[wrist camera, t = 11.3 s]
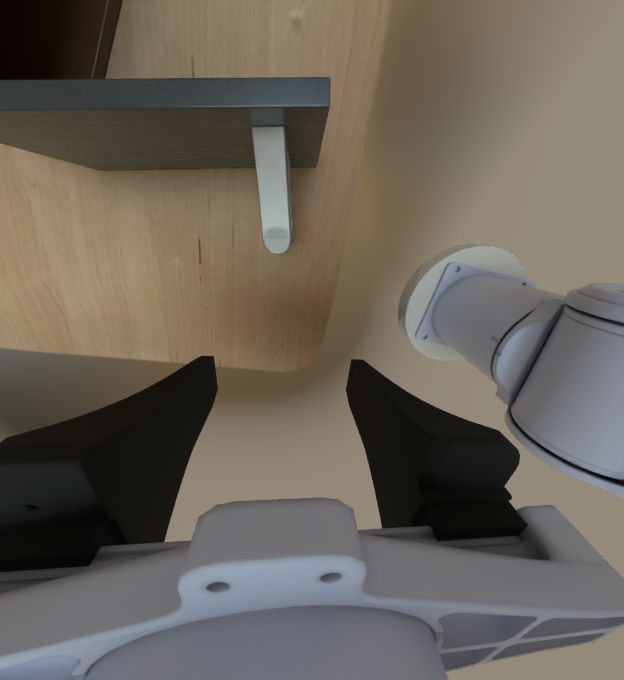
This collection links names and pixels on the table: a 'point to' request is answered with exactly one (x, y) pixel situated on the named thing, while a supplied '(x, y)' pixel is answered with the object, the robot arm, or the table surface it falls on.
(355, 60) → the table surface
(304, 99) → the door
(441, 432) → the robot arm
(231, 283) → the table surface
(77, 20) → the cabinet
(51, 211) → the table surface
